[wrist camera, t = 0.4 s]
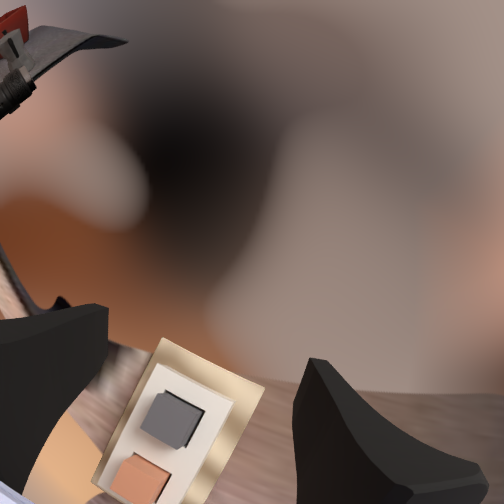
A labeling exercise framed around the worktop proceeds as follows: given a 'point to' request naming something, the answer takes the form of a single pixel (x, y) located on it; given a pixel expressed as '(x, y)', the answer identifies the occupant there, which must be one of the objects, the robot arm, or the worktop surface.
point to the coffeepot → (15, 50)
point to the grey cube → (171, 420)
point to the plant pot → (15, 23)
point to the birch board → (231, 431)
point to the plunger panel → (166, 457)
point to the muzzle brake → (15, 90)
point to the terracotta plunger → (139, 480)
